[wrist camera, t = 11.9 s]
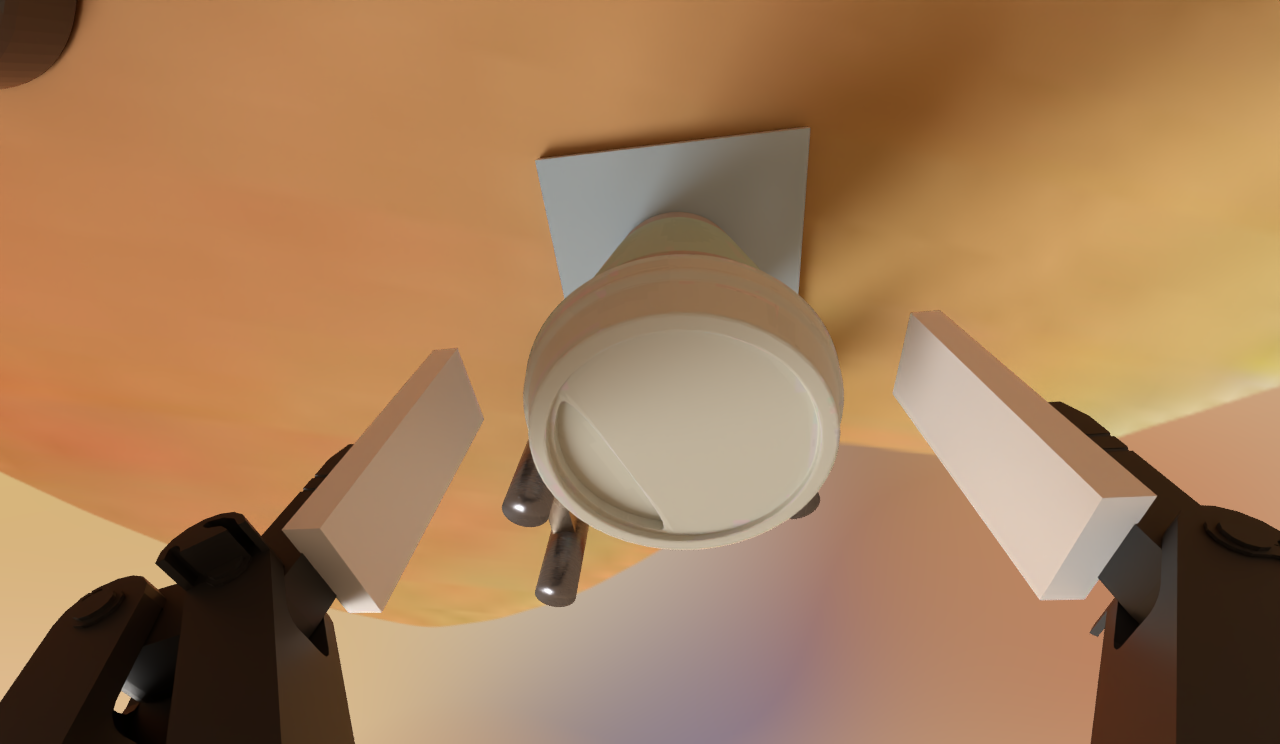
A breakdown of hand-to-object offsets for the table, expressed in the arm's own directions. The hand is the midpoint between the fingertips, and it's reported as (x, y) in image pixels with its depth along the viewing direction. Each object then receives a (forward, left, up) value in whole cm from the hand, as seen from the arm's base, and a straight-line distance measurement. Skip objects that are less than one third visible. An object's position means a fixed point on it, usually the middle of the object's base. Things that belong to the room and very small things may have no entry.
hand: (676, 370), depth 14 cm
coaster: (0, 0, -9) cm, 9 cm away
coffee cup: (0, 0, -9) cm, 9 cm away
